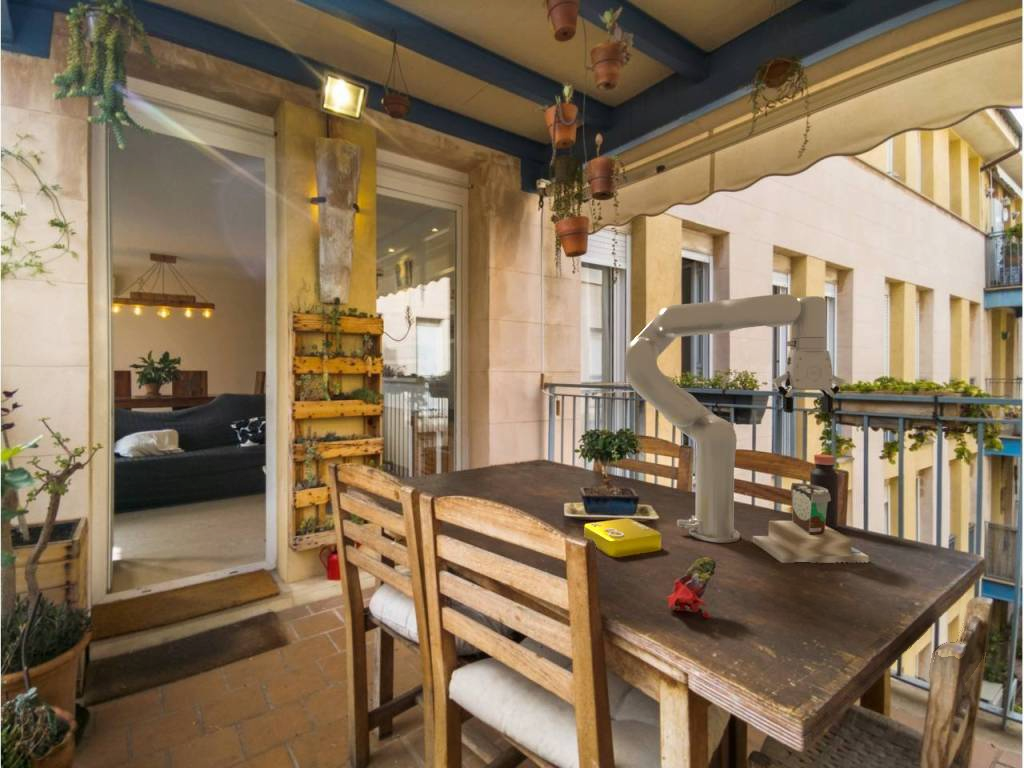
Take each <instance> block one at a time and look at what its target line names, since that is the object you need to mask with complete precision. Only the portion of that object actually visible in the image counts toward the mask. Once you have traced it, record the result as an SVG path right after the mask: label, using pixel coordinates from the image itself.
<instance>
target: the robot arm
mask: <svg viewBox="0 0 1024 768" xmlns="http://www.w3.org/2000/svg"><path fill="white" fill-rule="evenodd" d="M826 321H827V302H826V299H825V298H824V297H822V296H816V295H815V296H814V295H813V296H810V295H809V296H801V297H796V296H794V295H792V294H788V293H777V294H768V295H759V296H750V297H742V298H741V297H740V298H732V299H721V300H714V301H713V300H712V301H704V302H694V303H684V304H674V305H668V306H665V307H663V308H662V309H661V310H659V312H657V314H656V315H655V316H654V317H653V319H652V320H650V322H649V323H648V324H647V325H646V326H645V328H644V329H643V330H642V331H640V333H639V334H638V335H637V336H636V337H635V338H634V339H632V340H631V341H630V342H629V344H628V345H627V347H626V349H625V359H624V370H625V375H626V378H627V381H628V383H629V385H630V386H631V387H632V389H633V390H634V391H635V392H636V393H637V395H639V396H640V397H641V398H642V399H643V400H644V401H646V402H647V403H648V404H649V405H650V406H651V407H653V408H654V409H655V410H656V411H658V412H659V413H660V414H661V415H662V416H663V417H664V419H666V420H667V421H668V422H669V423H670V424H671V425H673V426H674V427H675V428H677V429H678V430H679V431H681V433H683V434H684V435H686V436H687V437H688V438H690V439H691V440H692V441H693V442H694V443H695V444H696V455H695V506H694V507H695V510H694V511H695V515H694V514H693V515H691V518H688V519H677V520H676V525H677V528H684V529H686V530H688V533H689V535H690V536H692V537H694V538H696V539H698V540H701V541H705V542H710V543H719V544H720V543H722V544H728V543H733V542H737V541H739V540H740V538H741V535H740V532H739V531H738V530H736V529H735V528H734V527H735V526H734V517H735V516H734V515H735V513H734V512H735V509H734V508H735V461H736V460H735V459H736V451H737V434H736V430H735V428H734V427H733V425H732V424H731V422H729V421H728V420H727V419H724V418H722V417H720V416H717V415H716V414H714V413H713V412H712V411H711V410H709V409H708V408H707V407H705V406H704V405H703V404H702V403H700V402H699V401H698V399H696V397H695V396H694V395H693V394H691V393H689V392H687V391H686V390H684V389H683V388H682V387H680V386H679V385H678V384H676V383H675V382H674V381H672V379H670V378H669V377H668V376H667V375H666V374H664V373H663V372H662V370H660V368H659V366H658V358H659V356H661V354H662V353H663V352H664V351H665V350H666V349H667V348H668V347H669V346H670V345H671V344H672V343H673V342H674V341H675V340H676V339H677V338H681V337H691V336H702V335H716V334H723V333H729V332H734V331H736V330H737V331H738V330H742V329H748V328H755V327H764V326H765V327H767V328H768V327H769V328H777V327H786V326H791V339H790V340H788V341H786V346H787V347H790V350H791V351H788V353H787V354H788V355H787V358H786V363H785V371H784V374H781V375H780V376H777V377H776V378H774V379H773V380H772V384H773V385H774V387H775V390H776V391H777V393H778V394H780V396H781V398H782V409H783V412H784V413H789V414H793V412H794V397H792V395H793V394H794V393H795V392H796V390H798V391H799V390H800V391H820V393H822V395H823V396H821V398H820V399H821V401H820V402H821V403H820V411H821V412H822V413H827V414H829V413H832V408H833V398H834V397H835V396H836V394H837V393H838V392H839V391H840V388H841V386H842V384H844V383H843V382H844V380H843V379H842V378H841V377H838V376H836V375H835V374H833V366H832V365H833V364H832V359H831V355H830V350H826V333H827V332H826V331H827V330H826V329H827V328H826V327H827V325H826V323H827V322H826ZM783 382H784V386H785V387H783V385H782V383H783Z"/></svg>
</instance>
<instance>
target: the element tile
mask: <svg viewBox="0 0 1024 768" xmlns="http://www.w3.org/2000/svg"><path fill="white" fill-rule="evenodd" d="M584 537H585V538H588V539H591V540H593V541H594V542H595V544H596V547H597V548H596V547H595V548H596V549H598V550H599V551H600V550H601V552H602V551H603V552H602V553H604V554H606V555H607V556H608V557H613V558H623V557H627V556H634V554H635V555H640V553H641V554H647V553H652V552H658V550H659V551H661V550H662V534H661V532H659V531H657V530H655V529H653V528H651V527H649V526H646V525H645V524H643V523H640V522H638V521H636V520H635V519H631V518H627V517H626V518H618V519H612V520H604V521H596V522H588V523H584V526H583V538H584ZM622 556H623V557H622Z"/></svg>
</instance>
